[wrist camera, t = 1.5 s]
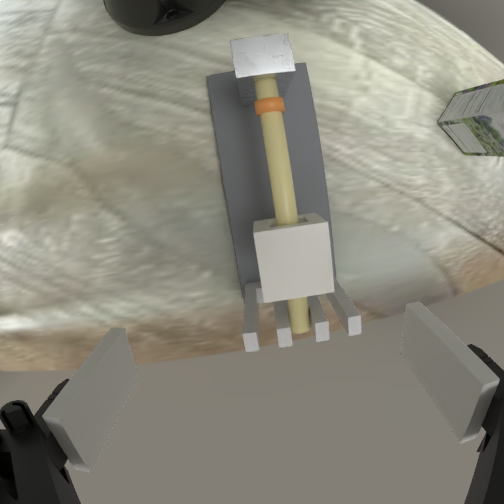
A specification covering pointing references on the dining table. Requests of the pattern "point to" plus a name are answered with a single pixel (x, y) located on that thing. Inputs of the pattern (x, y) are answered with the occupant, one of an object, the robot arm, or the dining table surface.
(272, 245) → the sleeve
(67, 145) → the dining table surface
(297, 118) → the cable comb board
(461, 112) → the syrup box
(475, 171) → the dining table surface
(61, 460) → the robot arm
